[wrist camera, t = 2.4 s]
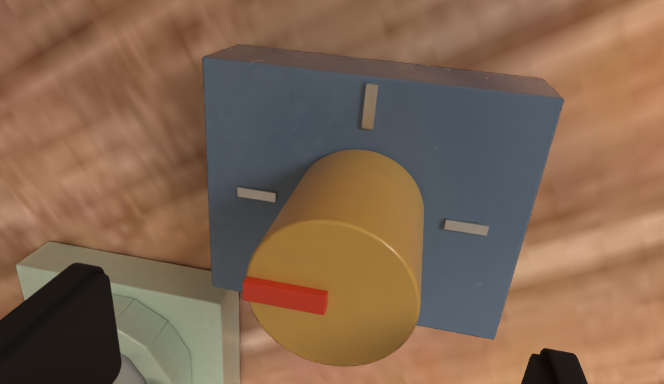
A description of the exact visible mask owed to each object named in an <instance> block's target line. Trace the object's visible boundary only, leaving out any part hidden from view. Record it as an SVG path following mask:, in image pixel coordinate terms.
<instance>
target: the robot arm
mask: <svg viewBox="0 0 664 384" xmlns="http://www.w3.org/2000/svg"><path fill="white" fill-rule="evenodd" d="M121 365H122V360H121V353H120V346H119V339H118V332H117V325H116V318H115V311H114V305H113V298H112V291H111V284H110V278H109V276H108V275H106V274H105V273H104V270H103V269H102V267H99V266H94V265H89V264H83V263H78V262H77V263H73V264H71V265H69V266H68V267H67V268H66V269H64V270H63V271H62V272H61V273H59V274H58V275H57V276H55V277H54V278H53V279H52V280H50V281H49V282H48V283H47V284H45V285H44V286H43V287H42V288H40V289H39V290H38V291H37V292H35V293H34V294H33V295H32V296H30V297H29V298H28V299H26V300H25V301H24V302H23V303H21V304H20V305H19V306H18V307H16V308H15V309H14V310H13V311H11V312H10V313H9V314H8V315H6V316H5V317H4V318H2V319H1V320H0V384H113V382H114V381H115V380H116V378H117V377H118V375H119V373H120V370H121ZM521 384H588V383H587V381H586V378H585V376H584V373H583V371H582V368H581V366H580V363H579V361H578V358H577V357H576V355H575V354H573V353H569V352H563V351H558V350H552V349H547V348H544V349H543V350H542V351H541V353H540V355H539V354H532V355H531V357H530V359H529V362H528V365H527V368H526V371H525V374H524V377H523V380H522V383H521Z"/></svg>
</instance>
